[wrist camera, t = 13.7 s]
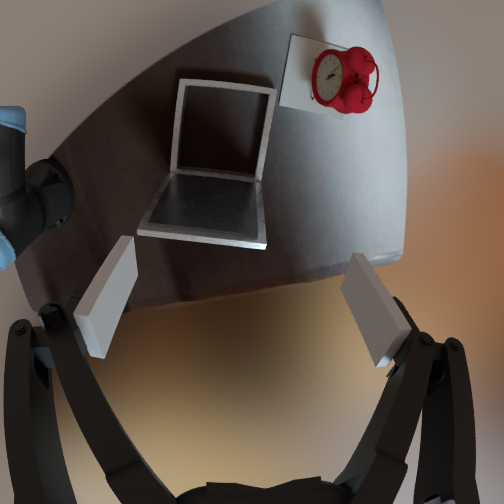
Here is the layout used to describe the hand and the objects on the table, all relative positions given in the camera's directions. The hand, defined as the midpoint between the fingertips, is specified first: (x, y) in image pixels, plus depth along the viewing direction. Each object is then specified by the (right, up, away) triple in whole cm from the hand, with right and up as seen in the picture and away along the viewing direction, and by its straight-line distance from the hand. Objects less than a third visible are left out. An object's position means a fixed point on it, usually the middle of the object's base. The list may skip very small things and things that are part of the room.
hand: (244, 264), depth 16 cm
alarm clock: (+13, +29, +22) cm, 38 cm away
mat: (+11, +29, +21) cm, 38 cm away
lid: (-5, +8, +21) cm, 23 cm away
